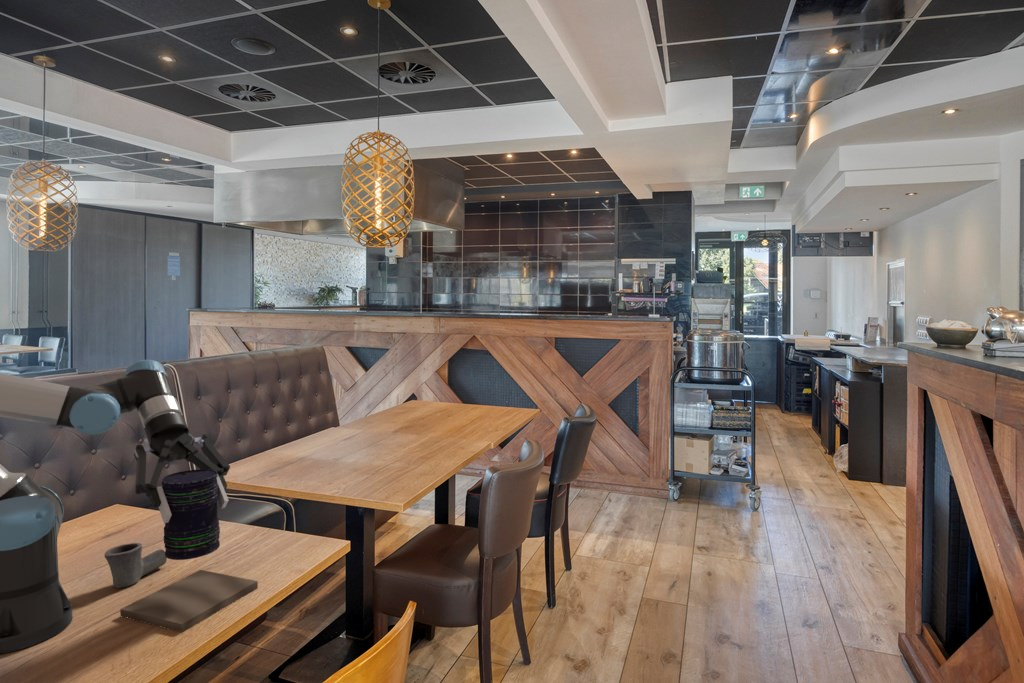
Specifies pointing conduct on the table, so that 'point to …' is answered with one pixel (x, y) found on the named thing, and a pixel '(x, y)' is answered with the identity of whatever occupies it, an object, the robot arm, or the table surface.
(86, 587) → the table surface
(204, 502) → the navy cylinder
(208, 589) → the walnut serving board
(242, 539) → the table surface
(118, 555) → the pipe
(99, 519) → the table surface
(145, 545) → the table surface
